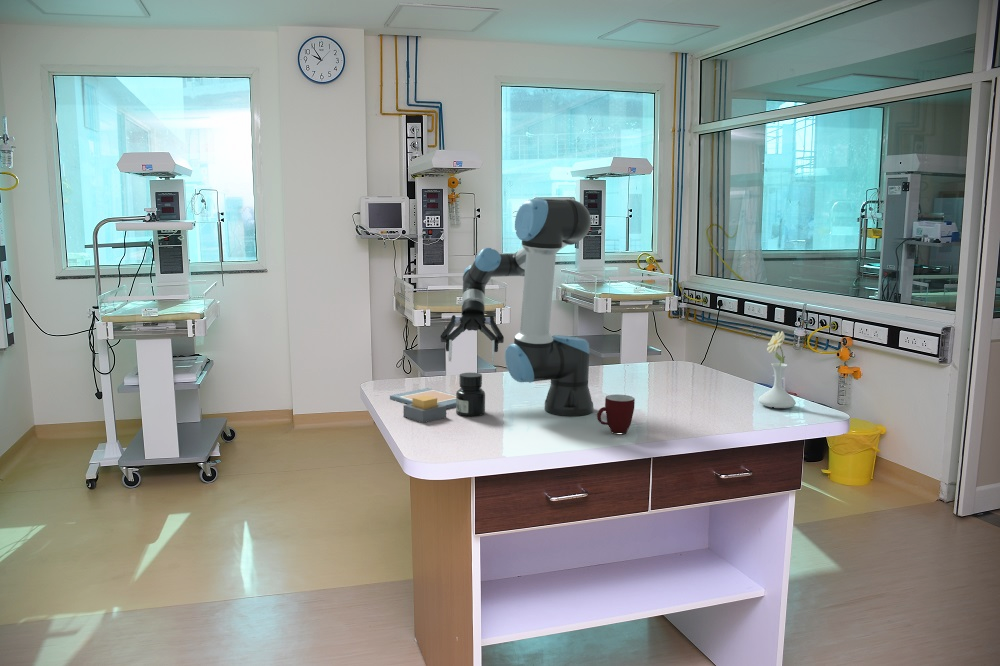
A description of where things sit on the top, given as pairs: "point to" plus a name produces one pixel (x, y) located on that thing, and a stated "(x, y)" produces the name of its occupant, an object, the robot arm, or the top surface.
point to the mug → (618, 412)
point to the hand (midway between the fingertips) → (471, 359)
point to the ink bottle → (470, 395)
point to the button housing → (424, 412)
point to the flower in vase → (777, 378)
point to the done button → (424, 402)
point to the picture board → (442, 397)
